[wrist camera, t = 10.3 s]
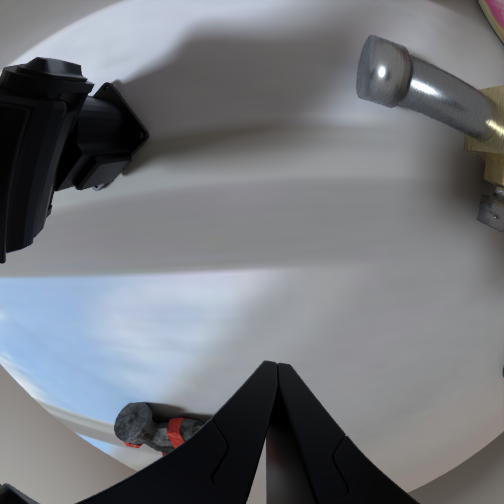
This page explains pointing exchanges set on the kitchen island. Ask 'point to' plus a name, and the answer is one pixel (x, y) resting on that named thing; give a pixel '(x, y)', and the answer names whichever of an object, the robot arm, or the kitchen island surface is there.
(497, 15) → the donut
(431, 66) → the pipe valve
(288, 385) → the robot arm
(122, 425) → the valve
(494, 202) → the chisel
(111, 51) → the kitchen island surface
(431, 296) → the kitchen island surface
